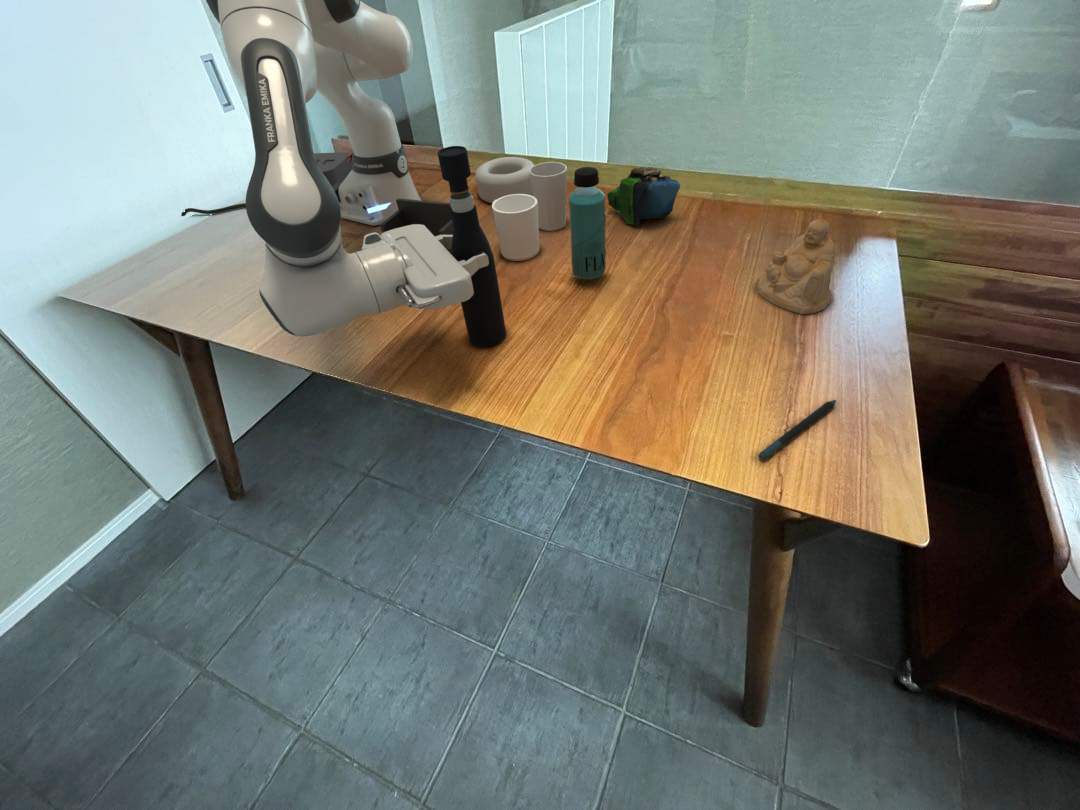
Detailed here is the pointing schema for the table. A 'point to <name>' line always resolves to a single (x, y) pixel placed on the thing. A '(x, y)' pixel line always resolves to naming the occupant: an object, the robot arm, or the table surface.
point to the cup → (550, 194)
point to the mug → (517, 226)
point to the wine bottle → (468, 239)
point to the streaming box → (334, 166)
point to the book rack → (421, 216)
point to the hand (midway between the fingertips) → (476, 247)
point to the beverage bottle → (587, 225)
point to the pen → (796, 430)
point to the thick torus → (503, 178)
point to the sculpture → (644, 195)
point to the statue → (801, 272)
